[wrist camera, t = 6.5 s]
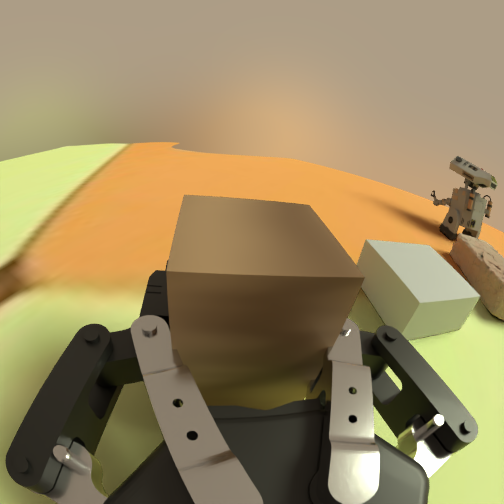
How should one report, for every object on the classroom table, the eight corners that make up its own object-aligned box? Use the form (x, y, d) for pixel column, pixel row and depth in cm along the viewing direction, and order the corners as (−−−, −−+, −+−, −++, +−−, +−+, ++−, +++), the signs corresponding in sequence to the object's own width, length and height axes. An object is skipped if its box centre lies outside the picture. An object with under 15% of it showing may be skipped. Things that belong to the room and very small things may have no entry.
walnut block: (184, 435, 11) (166, 271, 6) (184, 359, 15) (184, 194, 10) (283, 431, 12) (365, 277, 7) (267, 359, 16) (308, 205, 11)
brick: (446, 253, 36) (457, 227, 33) (479, 264, 35) (491, 240, 32) (490, 323, 22) (510, 290, 19) (524, 329, 21) (542, 300, 18)
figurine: (449, 223, 50) (469, 162, 43) (480, 249, 40) (505, 180, 33) (422, 217, 49) (443, 149, 42) (454, 244, 39) (481, 166, 32)
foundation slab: (396, 342, 18) (420, 302, 16) (352, 275, 26) (365, 239, 24) (459, 329, 20) (480, 296, 18) (415, 275, 28) (429, 245, 26)
